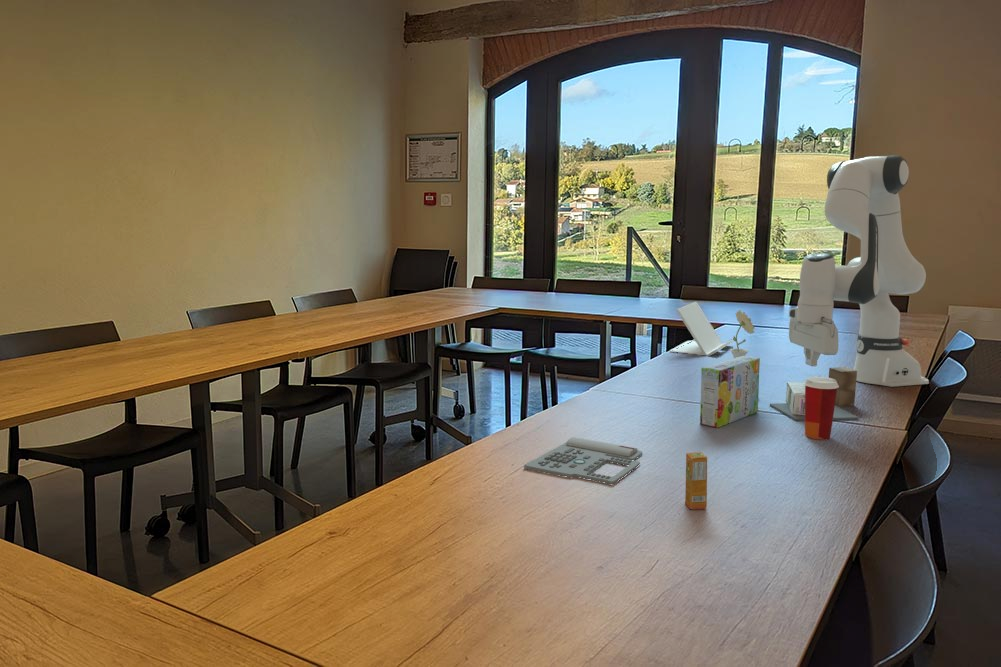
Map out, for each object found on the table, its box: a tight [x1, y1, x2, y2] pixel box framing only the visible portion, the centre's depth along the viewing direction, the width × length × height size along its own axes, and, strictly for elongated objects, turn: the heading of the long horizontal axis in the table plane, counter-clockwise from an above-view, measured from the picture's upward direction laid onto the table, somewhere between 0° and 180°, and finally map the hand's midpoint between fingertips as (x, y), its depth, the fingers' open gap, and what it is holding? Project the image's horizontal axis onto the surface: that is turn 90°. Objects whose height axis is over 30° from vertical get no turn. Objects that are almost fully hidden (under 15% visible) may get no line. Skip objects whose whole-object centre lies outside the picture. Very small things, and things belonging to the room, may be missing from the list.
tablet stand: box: [669, 301, 734, 357], centre depth 289 cm, size 18×25×17 cm
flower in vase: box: [729, 309, 755, 358], centre depth 217 cm, size 13×11×25 cm
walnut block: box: [828, 366, 857, 408], centre depth 210 cm, size 5×5×10 cm
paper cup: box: [802, 376, 839, 440], centre depth 180 cm, size 8×8×14 cm
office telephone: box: [523, 436, 643, 485], centre depth 163 cm, size 23×3×20 cm
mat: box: [769, 402, 859, 422], centre depth 202 cm, size 17×15×1 cm
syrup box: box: [785, 381, 805, 415], centre depth 203 cm, size 6×6×14 cm
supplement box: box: [684, 451, 708, 510], centre depth 138 cm, size 3×3×10 cm
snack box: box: [699, 355, 761, 429], centre depth 195 cm, size 21×6×15 cm, turn 134°
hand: (811, 365), depth 204 cm, fingers closed
